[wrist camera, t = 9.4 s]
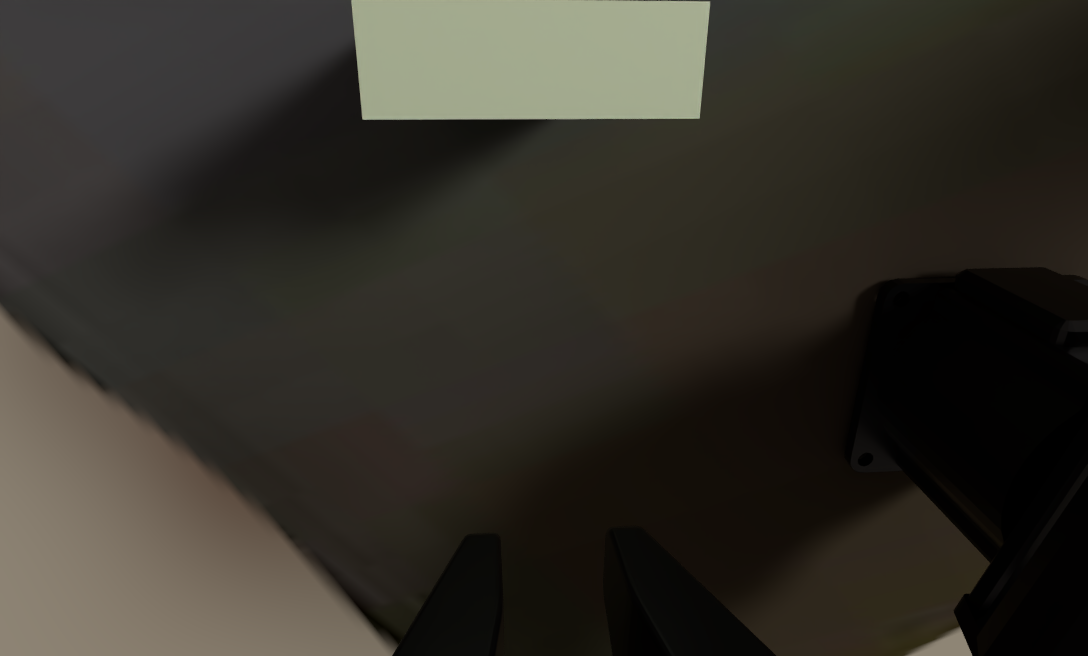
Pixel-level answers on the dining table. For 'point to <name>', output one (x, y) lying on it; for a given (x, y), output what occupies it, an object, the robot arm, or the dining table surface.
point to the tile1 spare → (530, 59)
